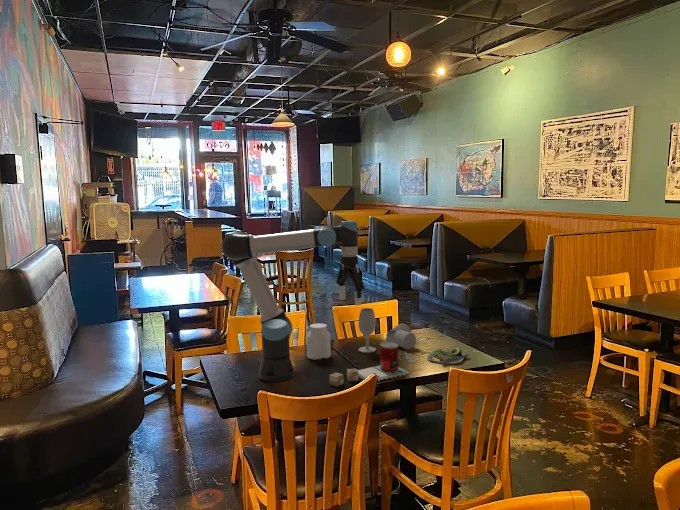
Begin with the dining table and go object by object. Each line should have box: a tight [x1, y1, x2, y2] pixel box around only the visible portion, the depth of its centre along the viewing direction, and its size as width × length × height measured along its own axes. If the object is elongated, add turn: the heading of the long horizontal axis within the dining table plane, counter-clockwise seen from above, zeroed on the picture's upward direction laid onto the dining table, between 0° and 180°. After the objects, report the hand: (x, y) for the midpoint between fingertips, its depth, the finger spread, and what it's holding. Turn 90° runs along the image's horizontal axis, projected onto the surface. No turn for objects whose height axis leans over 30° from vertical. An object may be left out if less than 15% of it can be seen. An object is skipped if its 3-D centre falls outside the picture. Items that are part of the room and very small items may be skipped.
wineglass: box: [357, 307, 377, 354], centre depth 251 cm, size 9×9×21 cm
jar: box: [305, 323, 332, 360], centre depth 244 cm, size 12×10×15 cm
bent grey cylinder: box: [385, 322, 417, 351], centre depth 263 cm, size 18×11×20 cm
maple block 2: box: [346, 368, 359, 382], centre depth 213 cm, size 4×4×4 cm
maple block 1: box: [328, 372, 344, 388], centre depth 208 cm, size 4×4×4 cm
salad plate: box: [426, 346, 469, 365], centre depth 237 cm, size 19×18×5 cm
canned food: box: [379, 341, 399, 372], centre depth 221 cm, size 8×8×11 cm
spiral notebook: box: [357, 365, 410, 382], centre depth 220 cm, size 20×14×1 cm
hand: (350, 302), depth 230 cm, fingers open, 13 cm apart
